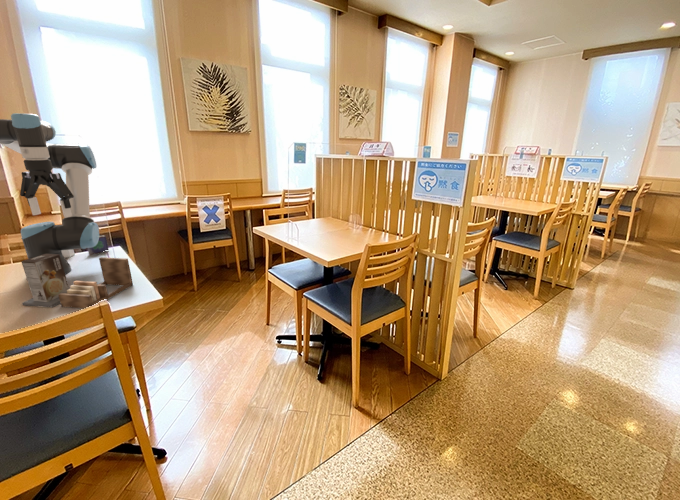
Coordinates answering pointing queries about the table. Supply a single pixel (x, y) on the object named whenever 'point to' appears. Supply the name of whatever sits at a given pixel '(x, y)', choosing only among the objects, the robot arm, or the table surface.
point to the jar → (68, 253)
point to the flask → (99, 246)
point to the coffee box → (45, 277)
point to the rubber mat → (42, 303)
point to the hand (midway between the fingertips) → (52, 215)
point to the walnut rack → (113, 274)
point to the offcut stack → (85, 289)
